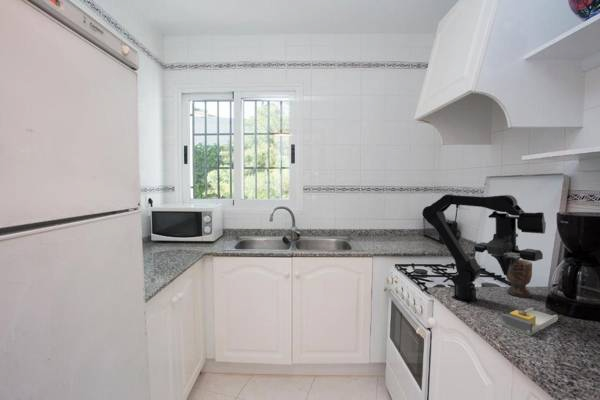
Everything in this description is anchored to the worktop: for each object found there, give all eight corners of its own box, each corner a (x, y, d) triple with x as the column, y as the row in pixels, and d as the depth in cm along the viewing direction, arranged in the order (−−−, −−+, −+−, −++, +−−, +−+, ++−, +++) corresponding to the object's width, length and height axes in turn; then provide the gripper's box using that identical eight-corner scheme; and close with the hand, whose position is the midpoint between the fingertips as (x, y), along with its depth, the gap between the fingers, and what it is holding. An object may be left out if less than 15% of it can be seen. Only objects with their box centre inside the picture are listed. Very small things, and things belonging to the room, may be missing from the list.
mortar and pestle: (538, 302, 101) (537, 248, 100) (509, 299, 105) (508, 247, 104) (528, 292, 111) (528, 242, 110) (502, 289, 115) (502, 241, 114)
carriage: (509, 322, 85) (509, 310, 85) (516, 319, 87) (516, 307, 87) (529, 329, 81) (529, 316, 81) (535, 325, 83) (535, 313, 83)
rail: (502, 325, 85) (502, 314, 85) (530, 312, 94) (530, 302, 94) (529, 336, 79) (529, 324, 79) (557, 320, 88) (557, 309, 88)
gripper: (465, 230, 100) (465, 272, 101) (526, 237, 84) (526, 287, 84) (482, 227, 106) (483, 267, 106) (543, 233, 89) (543, 280, 90)
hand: (506, 275), depth 96 cm, fingers closed
